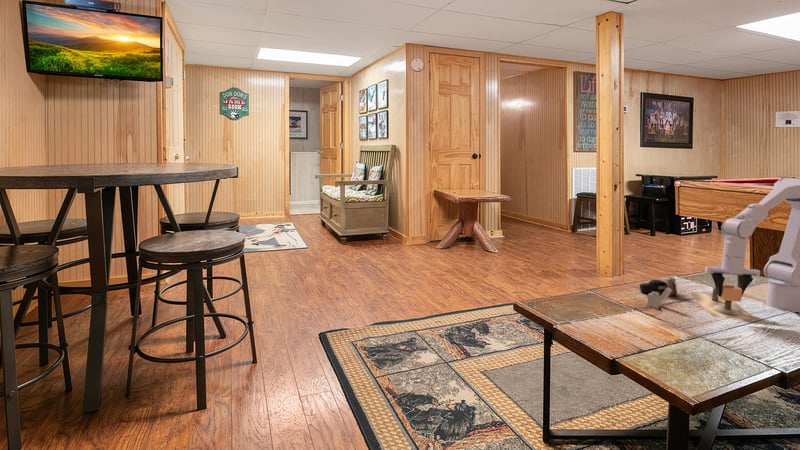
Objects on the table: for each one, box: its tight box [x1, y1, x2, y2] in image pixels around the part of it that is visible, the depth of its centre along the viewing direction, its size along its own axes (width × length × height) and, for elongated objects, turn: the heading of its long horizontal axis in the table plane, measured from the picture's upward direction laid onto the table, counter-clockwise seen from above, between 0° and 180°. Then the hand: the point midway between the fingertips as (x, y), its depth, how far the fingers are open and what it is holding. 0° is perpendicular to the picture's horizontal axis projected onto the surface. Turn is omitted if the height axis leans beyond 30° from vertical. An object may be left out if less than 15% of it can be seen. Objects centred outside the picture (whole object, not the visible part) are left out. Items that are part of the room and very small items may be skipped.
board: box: [689, 286, 758, 321], centre depth 152 cm, size 12×24×6 cm, turn 163°
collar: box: [717, 283, 743, 302], centre depth 146 cm, size 5×5×4 cm
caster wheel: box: [639, 276, 678, 298], centre depth 167 cm, size 7×12×10 cm
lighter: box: [647, 288, 672, 310], centre depth 152 cm, size 7×2×8 cm, turn 29°
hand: (728, 296), depth 146 cm, fingers closed on collar, 5 cm apart
